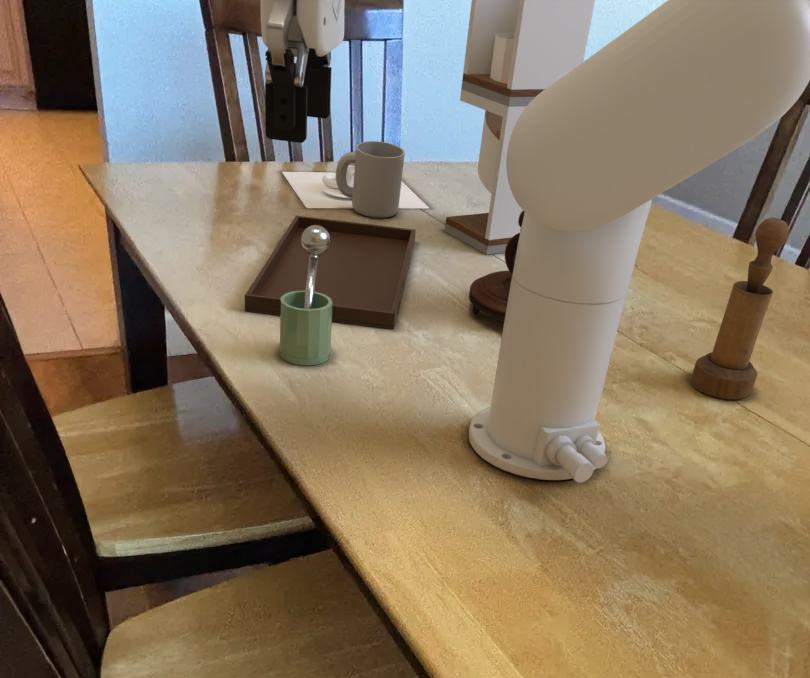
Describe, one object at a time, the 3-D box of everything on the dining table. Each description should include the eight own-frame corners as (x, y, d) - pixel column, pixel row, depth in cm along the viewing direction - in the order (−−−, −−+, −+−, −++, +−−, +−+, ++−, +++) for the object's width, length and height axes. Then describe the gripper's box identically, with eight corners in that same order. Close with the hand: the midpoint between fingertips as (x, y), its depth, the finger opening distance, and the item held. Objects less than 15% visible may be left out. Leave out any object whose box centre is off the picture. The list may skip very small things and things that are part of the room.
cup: (395, 221, 132) (402, 161, 126) (330, 211, 132) (334, 150, 126) (399, 204, 138) (406, 145, 132) (337, 194, 137) (341, 135, 131)
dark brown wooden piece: (558, 352, 99) (597, 166, 87) (445, 315, 104) (467, 136, 92) (604, 314, 109) (645, 143, 97) (499, 283, 115) (526, 118, 103)
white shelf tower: (504, 224, 136) (546, -45, 115) (548, 246, 129) (601, -35, 108) (444, 230, 130) (477, -50, 110) (486, 254, 124) (530, -41, 103)
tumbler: (336, 363, 91) (339, 308, 88) (288, 367, 89) (288, 312, 86) (321, 342, 95) (322, 288, 91) (273, 346, 93) (273, 292, 89)
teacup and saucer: (316, 185, 144) (317, 158, 141) (362, 185, 146) (364, 159, 143) (328, 201, 137) (329, 173, 135) (377, 201, 139) (379, 174, 137)
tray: (393, 329, 100) (395, 313, 98) (244, 311, 100) (244, 295, 99) (414, 243, 125) (415, 229, 124) (295, 228, 125) (295, 215, 124)
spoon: (315, 358, 90) (320, 246, 83) (287, 354, 90) (289, 243, 83) (328, 328, 97) (333, 223, 90) (301, 325, 97) (304, 220, 90)
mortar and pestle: (705, 367, 99) (757, 205, 88) (760, 387, 96) (821, 221, 85) (680, 385, 95) (732, 216, 84) (736, 406, 92) (798, 234, 81)
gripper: (332, -127, 56) (323, 157, 66) (372, -121, 70) (360, 113, 80) (217, -140, 56) (226, 145, 66) (280, -131, 70) (279, 103, 80)
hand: (299, 127), depth 73 cm, fingers open, 9 cm apart
